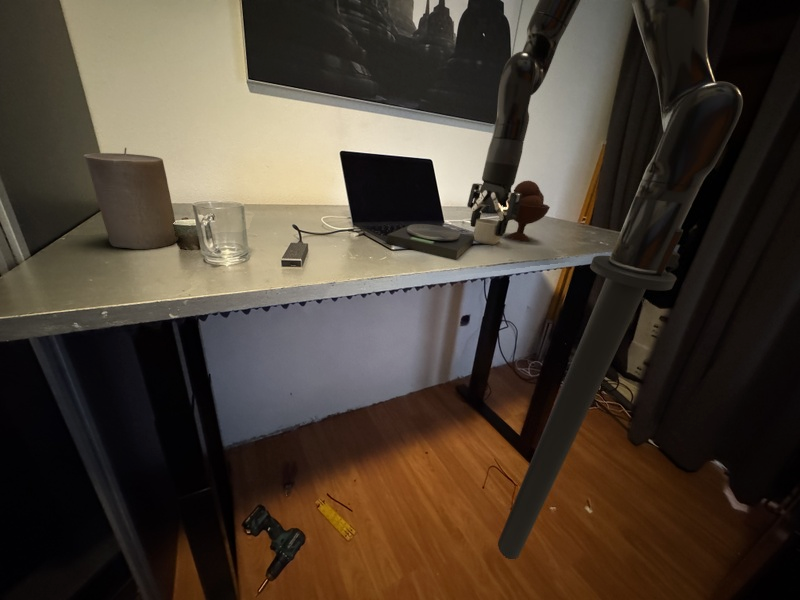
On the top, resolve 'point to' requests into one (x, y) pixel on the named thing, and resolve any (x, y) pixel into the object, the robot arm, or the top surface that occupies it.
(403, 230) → the scale
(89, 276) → the top surface
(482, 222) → the squat beige cylinder
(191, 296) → the top surface
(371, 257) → the top surface
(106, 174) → the pillar candle
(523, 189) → the ice cream bowl
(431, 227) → the scale pan
